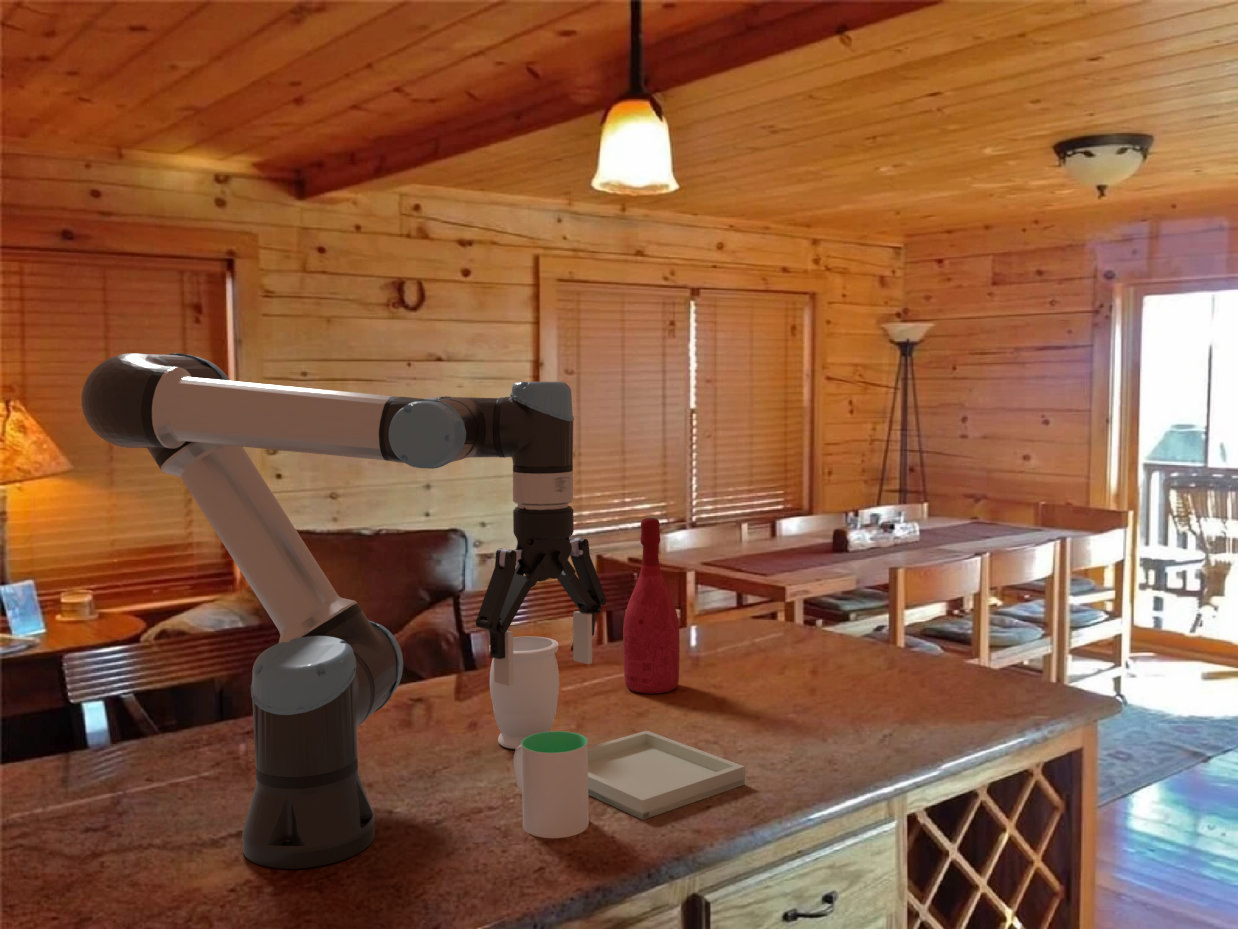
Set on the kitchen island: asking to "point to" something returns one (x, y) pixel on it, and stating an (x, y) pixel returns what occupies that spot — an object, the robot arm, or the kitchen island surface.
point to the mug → (553, 783)
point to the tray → (656, 774)
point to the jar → (527, 691)
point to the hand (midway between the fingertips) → (544, 672)
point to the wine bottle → (651, 624)
